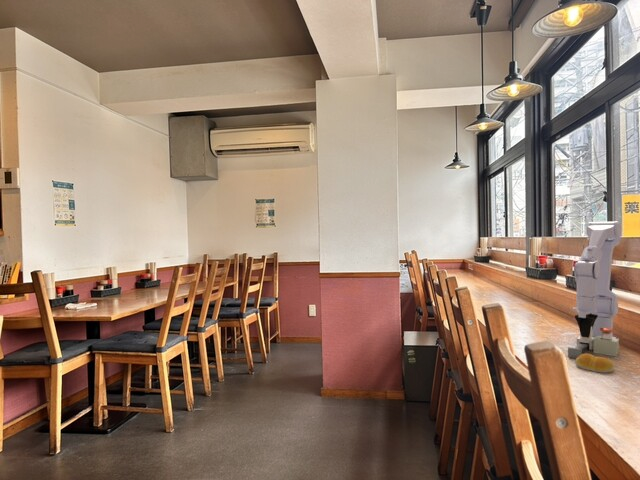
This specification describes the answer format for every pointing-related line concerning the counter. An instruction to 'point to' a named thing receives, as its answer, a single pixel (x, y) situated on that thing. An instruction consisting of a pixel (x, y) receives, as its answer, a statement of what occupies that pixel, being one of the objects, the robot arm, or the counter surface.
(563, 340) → the counter surface
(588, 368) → the bread roll
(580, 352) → the rail
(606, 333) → the red push knob
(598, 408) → the counter surface
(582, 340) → the carriage
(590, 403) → the counter surface
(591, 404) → the counter surface
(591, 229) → the robot arm
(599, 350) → the box
